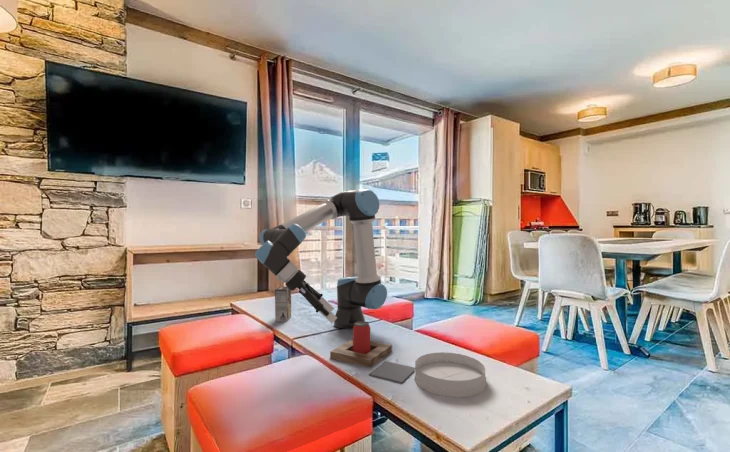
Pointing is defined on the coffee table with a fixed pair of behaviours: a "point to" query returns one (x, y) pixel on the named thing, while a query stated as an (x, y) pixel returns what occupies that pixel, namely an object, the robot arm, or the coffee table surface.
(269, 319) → the coffee table surface
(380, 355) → the pocket tray
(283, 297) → the coffee box
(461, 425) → the coffee table surface
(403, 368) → the coaster
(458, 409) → the coffee table surface
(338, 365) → the coffee table surface
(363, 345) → the beer can
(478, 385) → the dish
